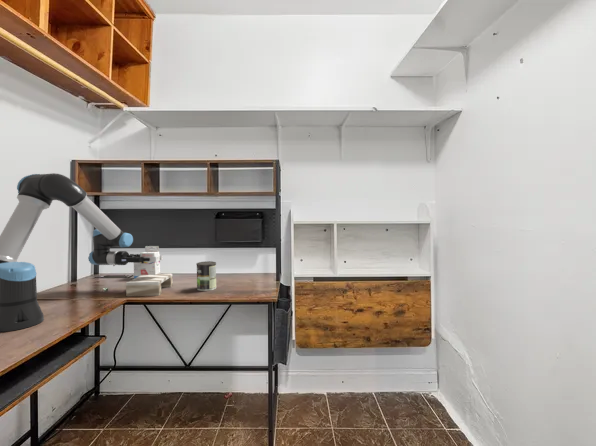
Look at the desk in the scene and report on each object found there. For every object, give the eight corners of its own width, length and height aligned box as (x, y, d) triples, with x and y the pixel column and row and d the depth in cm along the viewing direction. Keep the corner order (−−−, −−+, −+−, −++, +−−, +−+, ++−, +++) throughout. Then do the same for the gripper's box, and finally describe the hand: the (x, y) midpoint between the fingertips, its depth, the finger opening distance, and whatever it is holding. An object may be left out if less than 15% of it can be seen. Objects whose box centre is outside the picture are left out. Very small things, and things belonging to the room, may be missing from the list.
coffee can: (199, 292, 164) (199, 265, 163) (194, 287, 173) (194, 262, 172) (219, 289, 170) (218, 263, 169) (213, 285, 178) (212, 260, 178)
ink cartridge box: (140, 275, 165) (138, 247, 165) (146, 273, 170) (144, 246, 170) (155, 275, 164) (154, 247, 163) (160, 273, 169) (159, 245, 168)
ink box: (145, 280, 192) (145, 258, 191) (133, 280, 193) (133, 258, 193) (154, 277, 200) (154, 256, 199) (143, 277, 202) (142, 256, 201)
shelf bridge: (159, 295, 158) (158, 281, 158) (126, 296, 157) (125, 282, 157) (172, 285, 178) (172, 273, 178) (143, 286, 177) (143, 274, 177)
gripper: (129, 262, 178) (168, 262, 175) (106, 268, 160) (149, 268, 157) (129, 248, 178) (168, 249, 175) (106, 253, 160) (149, 253, 157)
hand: (159, 258), depth 166 cm, fingers closed on ink cartridge box, 5 cm apart
